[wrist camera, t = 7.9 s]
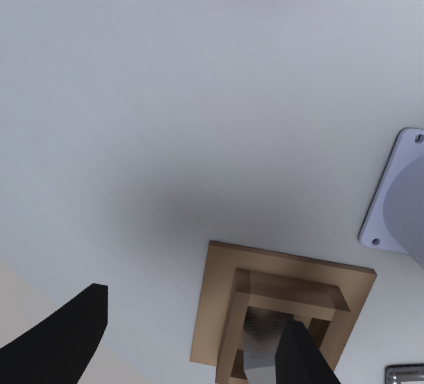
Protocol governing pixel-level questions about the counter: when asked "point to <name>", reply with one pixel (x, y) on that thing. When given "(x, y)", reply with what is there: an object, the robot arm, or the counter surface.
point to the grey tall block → (262, 343)
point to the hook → (404, 374)
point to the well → (273, 302)
